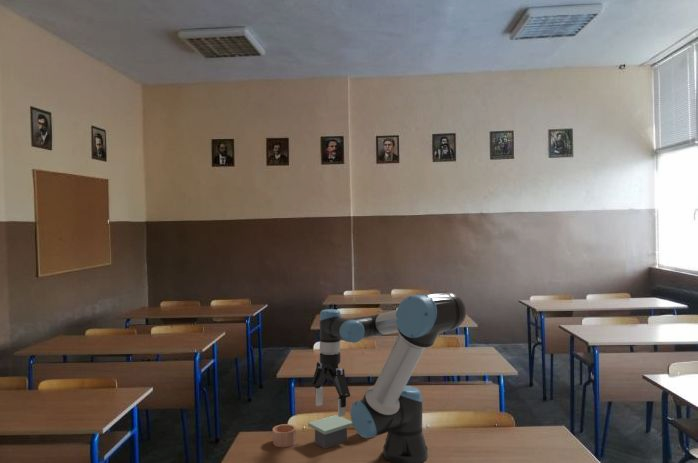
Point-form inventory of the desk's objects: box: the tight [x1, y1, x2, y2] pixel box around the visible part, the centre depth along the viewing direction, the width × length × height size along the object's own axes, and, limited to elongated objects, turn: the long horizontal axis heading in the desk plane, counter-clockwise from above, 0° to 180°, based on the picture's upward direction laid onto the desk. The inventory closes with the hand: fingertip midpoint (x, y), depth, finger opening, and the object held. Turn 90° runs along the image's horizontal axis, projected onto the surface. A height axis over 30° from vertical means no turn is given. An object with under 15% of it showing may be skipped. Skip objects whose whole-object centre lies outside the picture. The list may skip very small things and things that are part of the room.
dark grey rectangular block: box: [314, 428, 348, 449], centre depth 180 cm, size 6×10×6 cm, turn 129°
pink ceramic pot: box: [272, 423, 297, 448], centre depth 181 cm, size 8×8×5 cm
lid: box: [307, 414, 354, 435], centre depth 180 cm, size 10×13×1 cm
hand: (330, 410), depth 181 cm, fingers open, 13 cm apart
